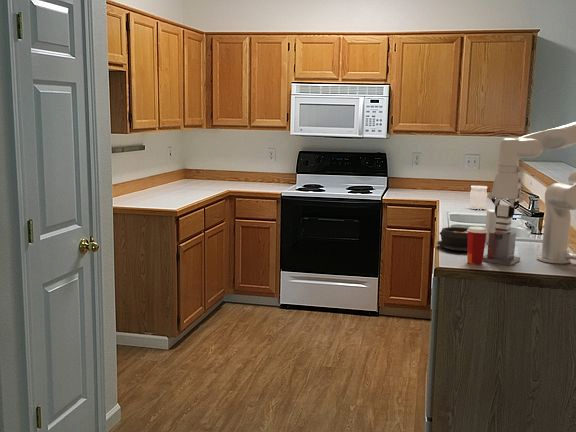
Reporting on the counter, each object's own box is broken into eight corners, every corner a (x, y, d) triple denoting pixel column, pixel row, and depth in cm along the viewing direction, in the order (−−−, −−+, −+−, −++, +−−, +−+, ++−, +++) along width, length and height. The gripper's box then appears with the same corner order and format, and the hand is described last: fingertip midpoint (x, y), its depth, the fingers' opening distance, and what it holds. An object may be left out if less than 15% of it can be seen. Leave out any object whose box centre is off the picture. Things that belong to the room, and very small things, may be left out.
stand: (520, 261, 253) (522, 232, 251) (510, 265, 243) (513, 236, 242) (490, 256, 260) (493, 228, 258) (480, 260, 251) (482, 232, 249)
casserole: (482, 256, 260) (484, 236, 259) (436, 252, 264) (437, 233, 263) (479, 245, 284) (480, 226, 283) (436, 242, 288) (438, 223, 287)
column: (508, 249, 252) (512, 205, 249) (504, 251, 248) (508, 206, 245) (497, 248, 254) (501, 204, 251) (493, 249, 251) (497, 205, 248)
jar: (475, 207, 412) (476, 184, 409) (489, 209, 404) (490, 186, 401) (465, 208, 405) (467, 185, 403) (479, 210, 397) (481, 187, 395)
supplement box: (507, 245, 286) (510, 212, 283) (487, 244, 287) (489, 211, 285) (503, 241, 294) (506, 210, 292) (484, 240, 296) (486, 208, 294)
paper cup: (488, 263, 247) (491, 228, 244) (479, 266, 241) (482, 230, 239) (469, 260, 252) (472, 225, 250) (460, 262, 246) (463, 227, 244)
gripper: (533, 171, 244) (528, 217, 247) (490, 168, 254) (486, 212, 257) (527, 172, 238) (522, 219, 241) (483, 169, 248) (479, 214, 251)
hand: (504, 215), depth 249 cm, fingers closed on column, 4 cm apart
